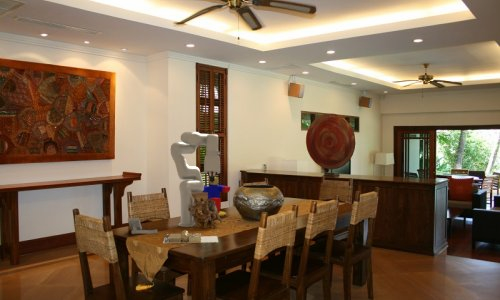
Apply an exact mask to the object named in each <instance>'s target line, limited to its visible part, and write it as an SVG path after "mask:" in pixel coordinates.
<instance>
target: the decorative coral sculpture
mask: <svg viewBox="0 0 500 300" xmlns="http://www.w3.org/2000/svg"><path fill="white" fill-rule="evenodd" d="M200 206H201V213H202V215H200V213H199V211H198V208H199V207H200ZM191 208H194V209H191ZM191 208H190V207H189V209H188V211H192V212H193V214H192V216H194V218H193V220H194V222H195V224H194V226H193V228H197V226H200V227H202V224H201V222H203V221H204V224H203V228H207V225H208V223H210V225H209V227H214V229H216V228H217V227H218V226H217V225H216V224H215V223H214V222H215V221H216V219H217V220H218V221H219V222H220V224H222V223H224V219H222V218H221V217H219V214H218V211H217V208H216V205H215V201H213V200H210V199H208V198H207V199H206V200H204V198H203V197H200V199H199V200H197V198H194V206H191ZM199 220H200V222H199Z"/></svg>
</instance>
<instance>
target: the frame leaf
mask: <svg viewBox="0 0 500 300" xmlns="http://www.w3.org/2000/svg"><path fill="white" fill-rule="evenodd" d="M184 232H188V233H189V231H188V230H186V229H184V230H182V232H181V233H170V234H169V243H168V244H174V243H173V242H181V241H182V242H187V241H188V239H189V236H188V234H186V233H184ZM183 233H184V234H183ZM189 234H190V233H189Z"/></svg>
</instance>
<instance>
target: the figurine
mask: <svg viewBox="0 0 500 300" xmlns="http://www.w3.org/2000/svg"><path fill="white" fill-rule="evenodd" d="M208 178H209V179H208V182H209V183H208V184H209V185H204V190H203V191H202V192H201V193H206V194H207V199H210V200H213V201H215V205H216V208H217V211H218V214H219V217H220V216H221V217H225V216H224V215H226V216H228V213H227V212H225V211H222V210H221V211H220V209H221V207H222V198H221V195H220V194H221V193H229V192H230V190H231V186H226V185H221V184H220V185H219V177H218V176H217V177H216V176H215V181H213V182H212V183H211V181H210V177H208ZM199 214H200V215H202V212H200V213H199ZM221 217H220V218H221Z"/></svg>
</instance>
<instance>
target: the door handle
mask: <svg viewBox="0 0 500 300" xmlns="http://www.w3.org/2000/svg"><path fill="white" fill-rule="evenodd" d="M127 222H128V224H129V227H130V230H131V235H139V234H140V235H141V234H142V235H143V234H145V235H147V234H158V229H151V230H150V229H148V230H146V229H143V227H142V224H141V221H140V218H139V217H133V218H132V217H130V218H127Z"/></svg>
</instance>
